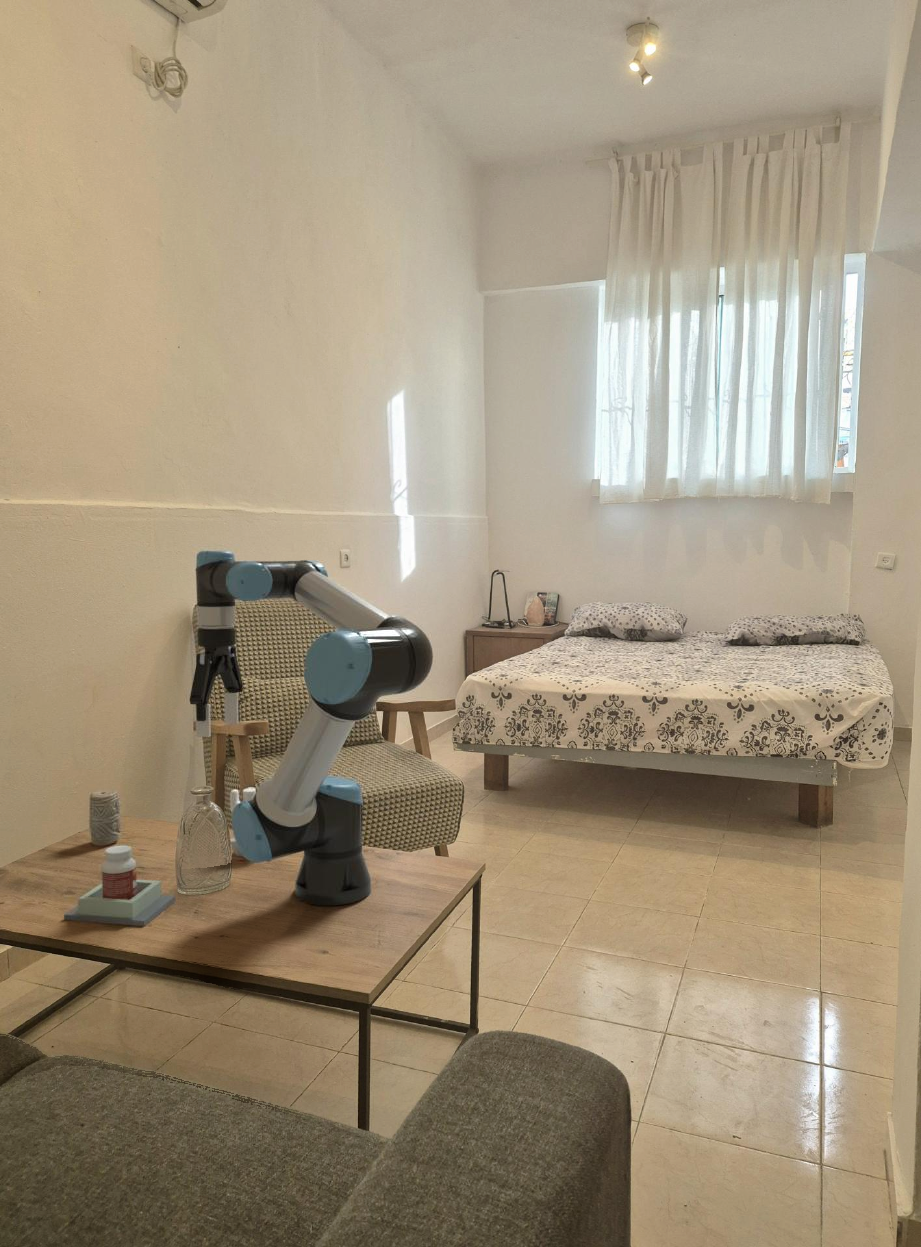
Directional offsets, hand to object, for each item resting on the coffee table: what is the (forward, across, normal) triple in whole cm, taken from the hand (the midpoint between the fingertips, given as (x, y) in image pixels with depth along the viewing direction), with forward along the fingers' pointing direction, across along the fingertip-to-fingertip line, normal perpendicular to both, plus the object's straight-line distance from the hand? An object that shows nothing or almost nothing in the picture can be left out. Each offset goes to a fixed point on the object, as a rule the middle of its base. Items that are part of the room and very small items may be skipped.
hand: (218, 729), depth 184 cm
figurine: (+32, -16, 0) cm, 36 cm away
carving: (+32, -17, -36) cm, 51 cm away
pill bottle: (+31, +18, -12) cm, 38 cm away
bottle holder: (+32, +18, -12) cm, 38 cm away
